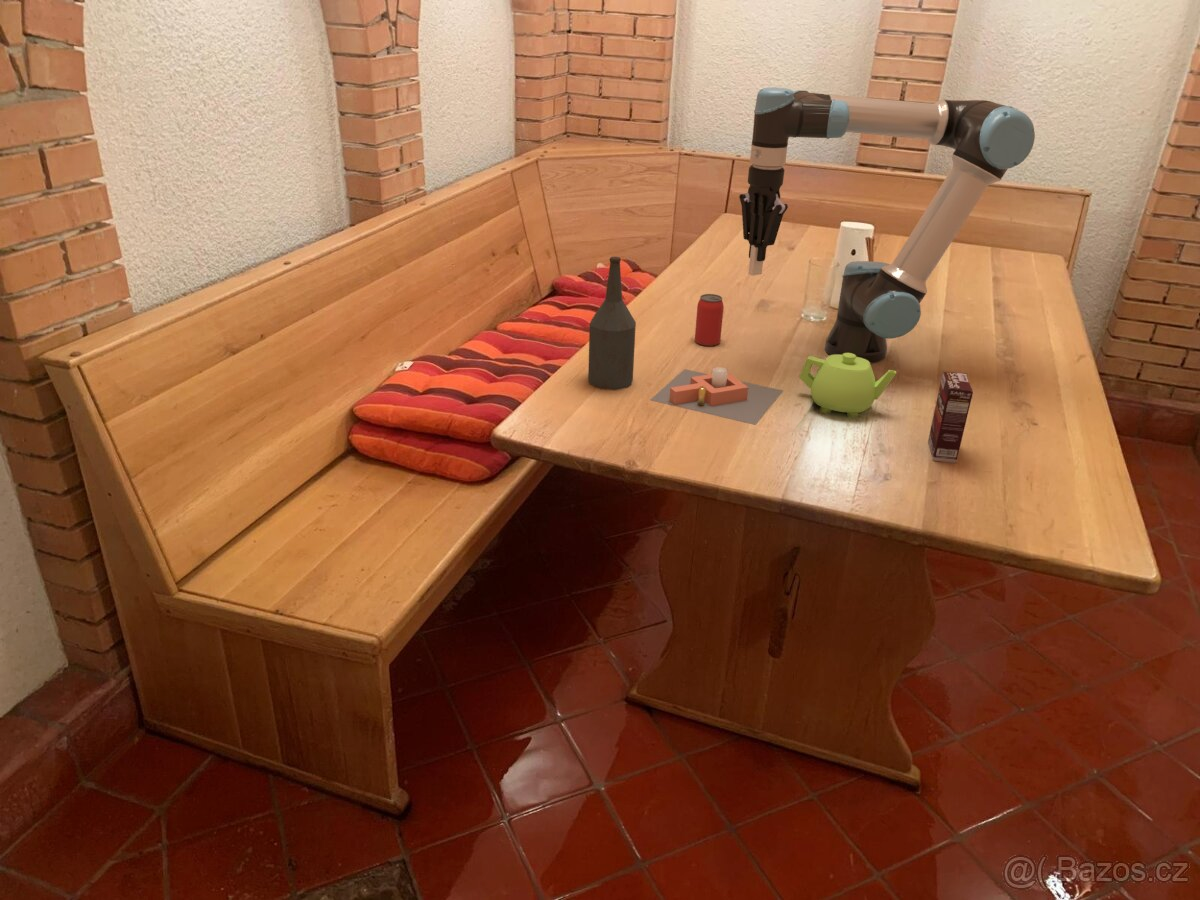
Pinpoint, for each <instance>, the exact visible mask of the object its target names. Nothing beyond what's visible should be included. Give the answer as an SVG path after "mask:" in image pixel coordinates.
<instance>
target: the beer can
mask: <svg viewBox="0 0 1200 900" xmlns="http://www.w3.org/2000/svg"><path fill="white" fill-rule="evenodd" d="M696 308H697V309H696V318H695V328H694V329H695V331H694V332H695V333H694V341H695V343H697V344H699V345H700V346H706V347H714V346H717V345H719V344H720V342H721V339H722V327H723V318H724V317H723V316H724V308H725V307H724V301H723V297H722V296H721V295H719V294H715V293H704V294H701V295H700V296H699V300H698V302H697V306H696Z"/></svg>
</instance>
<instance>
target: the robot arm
mask: <svg viewBox="0 0 1200 900" xmlns="http://www.w3.org/2000/svg"><path fill="white" fill-rule="evenodd" d="M755 101H756V102H755V105H754V106H755V107H754V108H755V109H754V111H753V113H754V117H753V125H752V126H753V128H752V140H751V147H750V148H751V149H750V158H749V163H750V164H751V165H750V166H749V167H748V174H747V184H749V187H748V189H747V192H746V193H741V194H739V202H740V204H741V216H742V217H741V218H742V233H743V234H742V235H743V240H747V242H748V244H749V248H748V249H749V251H748V258H749V262H748V263H749V264H748V273H747V275H749V276H758V275H762V274H763V266H764V262H765V260H766V255H767V248H768V247H770V246H774V245H775V243H776V239H777V236H778V233H779V230H780V225H781V223H782V220H783V217H784V214H785V213H786V212H787V210H788V208H789V205H788V203H783V202H782V201H781V193H780V189H781V187H782V186H783V184H784V178H785V169H784V166H785V165H786V161H787V152H788V145H789V138H795V139H796V138H809V139H811V138H812V139H826V140H830V139H840V138H843V136H844V135H845V134H846V133H853V134H864V135H874V136H875V135H876V136H885V137H886V136H887V137H897V138H909V139H919V140H926V141H928V143H929V144H930V145H934V146H943V147H946V148H947V147H948V148H950V149H953V150H954V151H953V153H952V154H951V160H952V167H951V169H950V171H949V173H948V174H947V175H946V177H945V179H944V180H943V182H942V183H941V185H940V187H938V190H937V192H936V193H935V194H934V196H933V198H932V199H931V201H930V202H929V205H928V206H927V207H926V208H925V210H924V212H923V214H922V215H921V217H920V219H919V220H918V221H917V223H916V225H915V226H914V228H913V229H912V231H911V233H910V235H909V236H908V238H907V239H906V241H905V243H904V244H903V246H902V248H901V249H900V250H899V252H898V253H897V255H896V257H895V258H894V260H893V262H891V263H887V262H880V261H870V260H869V261H868V260H860V261H859V260H857V261H852V262H849V263H847V264H846V265H845V267H844V272H843V274H842V282H841V287H840V295H839V300H838V306H837V307H838V308H837V313H836V320H835V322H834V324H833V326H832V327H831V329H830V332H829V333H828V334H827V335H828V336H827V337H826V339H825V344H824V351H825V352H826V353H827V354H828V356H830V355H842V354H843V353H852V354H855V355H856V357H860V358H863V359H866V360H868V361H869V362H870V364H872V363H878V362H881V361H883V360H884V359H885V358H887V357H886V356H887V351H888V343H887V340H889V339H890V340H891V339H897V338H901V337H903V336H906V335H907V334H908V333H910V332H911V331H913V330H914V328H915V327H916V326H917V325H918V323H919V321H920V318H921V315H922V311H921V302H922V301H923V299H924V298H925V297H926V295H927V293H928V288H927V286H926V285H927V284H926V283H927V280H928V279H929V277H930V276H931V274H932V273H933V272H934V269H935V268H936V267H937V265H938V263H939V262H940V261H941V259H942V257H943V256H944V254H945V253H946V251H948V250H947V249H948V248H949V247H950V245H951V244H952V243H953V240H955V237H956V235H957V234H958V233H959V231H960V230H961V228H962V226H963V225H964V223H965V222H966V220H967V219H968V217H969V216H970V214H971V213H972V211H973V210H974V208H975V207H976V205H977V203H978V202H979V200H980V199H981V197H982V196H983V194H984V193H985V191H986V190H987V188H988V187H989V185H991V184H994V183H998V182H1001V181H1002V178H1003V177H1004V175H1005V174H1006V172H1007V171H1008V169H1012V168H1014V167H1016V166H1019V165H1021V163H1023V162H1024V161H1025V160H1026V159H1027V158H1028V156H1029V155H1030V154H1031V151H1032V150H1033V147H1034V144H1035V139H1036V134H1035V133H1036V132H1035V127H1034V124H1033V121H1032V120H1031V118H1030V117H1029V116H1028V115H1027V114H1026V113H1025V112H1023V111H1022V110H1019V109H1018V108H1015V107H1013V106H1010V105H1005V104H1000V103H996V102H994V101H989V100H984V99H982V100H981V99H978V100H977V99H973V100H972V99H971V100H964V99H962V100H958V99H956V100H954V99H952V100H951V99H938V100H937V101H936V102H935V103H930V102H929V103H928V102H918V101H906V100H895V99H884V98H876V97H875V98H873V97H865V96H864V97H863V96H861V97H860V96H851V95H841V94H840V95H838V94H825V93H818V92H817V93H816V92H809V91H807V90H803V89H802V90H799V89H797V90H793V89H792V88H791V89H790V88H787V87H775V86H774V87H771V86H770V87H763V88H761V89H759V90H758V92H757V95H756V100H755Z"/></svg>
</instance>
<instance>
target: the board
mask: <svg viewBox="0 0 1200 900" xmlns="http://www.w3.org/2000/svg"><path fill="white" fill-rule="evenodd" d="M727 372H728V369H727V368H725V367H720V366H718V367H713V369H712V373H711V374H712V385H711V386H713V387H714V388H721V387H726V382H727ZM728 373H729V372H728ZM708 374H709V373H704V372H701V371H700V372H699V371H695V370H692V369H691V370H690V369H687V368H684V369H683V370H682V371H680V372H679V373H678V375H676V376H675V377H674V378H673V379H671V381H670V382H669V383H667V384H666V385H665V386H664V387H662V388H661V389H660V390H659V391H658V392H657V393H655V395H654V396H652V397H651V398H650V399H649V401H652V402H657V403H660V404H665V405H669V406H673V407H677V408H682V409H687V410H690V411H694V412H699V413H703V414H707V415H712V416H715V417H719V418H720V417H721V418H724V419H729V420H732V421H737V422H740V423H741V422H742V423H745V424H750V425H755V426H756V425H757V424H758V423H759V422H760V420H761V419H762V418H763V416H764V415H765V414H766V413H767V412H768V410H769V409H770V408H771V407H772V406H773V404H774V403H775V402H776V401H777V399H779V397H780V396H781V394H782V393H783V392H784V390H783V389H778V388H775V387H768V386H764V385H759V384H756V383H750V382H746V381H742V380H739V381H740V382H742V383H743V384H745V385H746V386H747V387H748V395H747V400H743V401H737V402H731V403H725V404H720V405H714V406H710V405H709V404H707V403H706V402H705V405H704V406H698V405H697V401H693V402H687V403H681V404H676V405H674V404H673V403H672V402H671V401H670V400H669V398H670V388H671V387H677V386H684V385H690V381H691V377H696V376H702V375H708Z"/></svg>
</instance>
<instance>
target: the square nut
mask: <svg viewBox="0 0 1200 900" xmlns="http://www.w3.org/2000/svg"><path fill="white" fill-rule="evenodd" d="M707 374H708V375H702V376H696V377H691V381H690V385H684V386H677V387H671V388H670V398H669V400H670V401H671V402H672V403H673V404H674V405H676V404H681V403H687V402H693V401H698V390H699V387H700V386H703V387H706V396H705V402H706V403H707V404H709V405H710V406H714V405H720V404H725V403H731V402H737V401H743V400H747V395H748V387H747V386H746V385H745V384H743V383H742V382H743V381H742V382H740V381H741V380H739V379H737V378H736V377H735V376H733V375H732V374H730V372H727V382H726V387H721V388H714V387H713V386H711V385H712V374H713V373H707Z"/></svg>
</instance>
